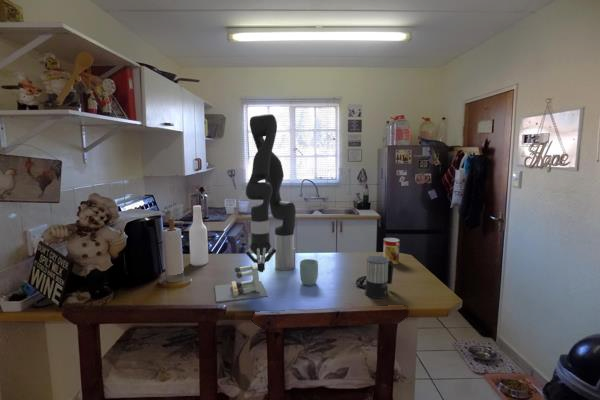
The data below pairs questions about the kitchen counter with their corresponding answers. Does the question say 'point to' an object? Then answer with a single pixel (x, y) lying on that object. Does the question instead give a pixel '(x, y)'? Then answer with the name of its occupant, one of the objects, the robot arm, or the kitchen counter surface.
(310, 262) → the cup
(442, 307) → the kitchen counter surface
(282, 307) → the kitchen counter surface
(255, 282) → the pale mint angular piece
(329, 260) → the kitchen counter surface
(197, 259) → the alcohol
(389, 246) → the canned food
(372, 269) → the milk frother
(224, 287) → the mat
